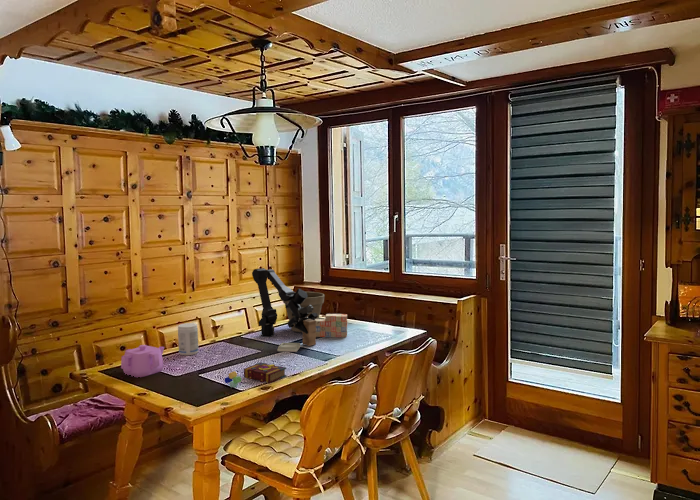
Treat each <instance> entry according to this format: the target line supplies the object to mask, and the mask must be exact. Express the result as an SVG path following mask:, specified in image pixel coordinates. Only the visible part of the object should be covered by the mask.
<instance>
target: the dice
mask: <svg viewBox="0 0 700 500" xmlns="http://www.w3.org/2000/svg"><path fill="white" fill-rule="evenodd" d="M241 382H242V377H241V375H238V373H237V372H236V371H231V372H230V373H228V376H226V377H225V378H224V383H225V384H229V387H230V388H232V387H234V388H237V387H238V384H239V383H241ZM236 386H237V387H236Z"/></svg>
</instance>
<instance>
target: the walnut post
mask: <svg viewBox="0 0 700 500" xmlns="http://www.w3.org/2000/svg"><path fill="white" fill-rule="evenodd" d="M303 324H304V326H305V327H306V329H307V331H308V334H306V333H304V332H302V345H303V346H308V347H310V346H313V345H314V346H315V345H316V343H317V339H316V338H317V337H316V320H311V319H307V320H303Z"/></svg>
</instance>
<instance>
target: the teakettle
mask: <svg viewBox="0 0 700 500" xmlns="http://www.w3.org/2000/svg"><path fill="white" fill-rule="evenodd" d="M164 349H165V346H159V347H156V346H152V345H147V344H140V345H139V346H138V347H136V348H135V347H134V348H132V349H131V348H129V349H125V351H124V355H121V359H120V360H121V361H120V363H121V365H120V369H122V370H123V374H124V373H125V374H124V375H126V374H127V375H126V376H129V375H131V376H130V377H133V376H134V377H133V378H138V377H140V378H143V377H148V376H151V375H154V374H157V373H159V372H162V371H163V368H164V359H163V354H164Z"/></svg>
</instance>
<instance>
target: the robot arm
mask: <svg viewBox="0 0 700 500" xmlns="http://www.w3.org/2000/svg"><path fill="white" fill-rule="evenodd" d="M251 276H252V279H253V281H254V282H255V283H256V284H257V289H258V291H259V298H260V300H261V306H262V311H261V318H260V320H259V321H258V326H260V328H261V335H260V337H265V338H266V337H273V336H274V335H275V327H274V325H277V324H276V323H277V320H278V313H277V309H276V308H273V306H272V303H271V298H270V295H269V289H268V285H267V280H269V281H270V282H271V284H272V285H273V286H274V288H275V289H276V291H277V293H278V297H279V298H280V300H281V301H282V302H283V301H289V302H288V303H286V306H285V305H284V307H285V308H284V309H286V308H290V310H291V312H292V313H293V314H292V316H295V317H293V318H291V319H290V321H289V320H288V322H287V326H288V328H290V329H291V327H293V326H294V324H295V326H294V328H297V329H299V330H301V331H303V332H304V333H306V334H308V331H307V329H306V327H305V326H304V324H303V320H307V319H311V320H315V319H316V318H317V317H318V315H317V313H311V314H310V315H309V316H308V317H307V315H308V313H309V312H312V310H313V306H312V305H309V306H307V307H301V306H300V305H299V304H302V303H303V302H304V300H305V299H306V298H307V297H308V295H307V293H306V292H307V291H305V290H303V289H302V288H297V289H296V291H293V289H292V288H290V287H288V286H286V285H285V283H284V282H283V281H282V280H281V278H280V277H279V276H278V275H277V274H276V272H275V269H271V268H270V269H269V268H268V269H266V268H265V267H262V268H254V269H253V270H252V272H251ZM303 332H302V333H303Z"/></svg>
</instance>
